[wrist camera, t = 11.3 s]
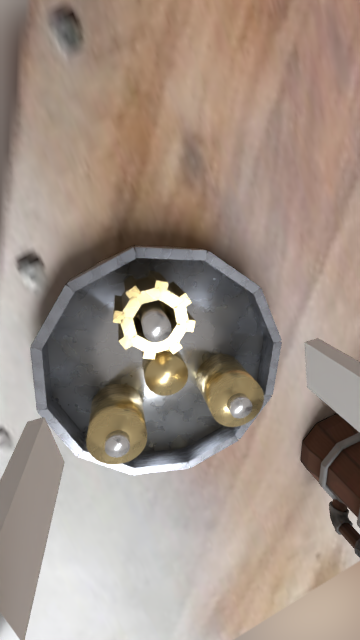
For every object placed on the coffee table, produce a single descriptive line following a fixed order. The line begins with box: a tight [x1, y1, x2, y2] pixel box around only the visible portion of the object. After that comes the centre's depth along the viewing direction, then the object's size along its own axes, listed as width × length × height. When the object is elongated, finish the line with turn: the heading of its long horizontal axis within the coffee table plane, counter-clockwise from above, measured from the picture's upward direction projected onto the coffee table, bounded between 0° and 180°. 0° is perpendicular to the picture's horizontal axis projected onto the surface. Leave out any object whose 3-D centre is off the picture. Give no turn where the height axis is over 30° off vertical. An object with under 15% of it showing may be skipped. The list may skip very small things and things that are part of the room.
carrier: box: [30, 245, 282, 475], centre depth 31 cm, size 27×27×10 cm
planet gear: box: [113, 271, 195, 359], centre depth 29 cm, size 7×7×6 cm
